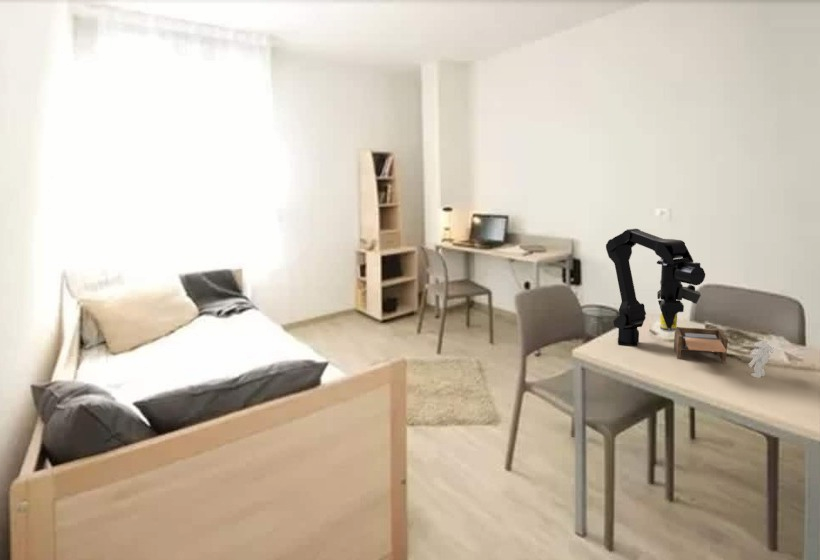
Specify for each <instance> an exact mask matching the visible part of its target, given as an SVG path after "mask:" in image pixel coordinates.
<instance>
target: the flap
mask: <svg viewBox="0 0 820 560" xmlns="http://www.w3.org/2000/svg"><path fill="white" fill-rule="evenodd" d="M683 340H684V345H685V347H686V348H689V350H688V351H690V350H701V351H700V352H703V351H715V352H714V353H717V352H726V349H725V347H724V346H723V344H722V339H717V337H716V335H710V334H694V333H685V337H683Z"/></svg>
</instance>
